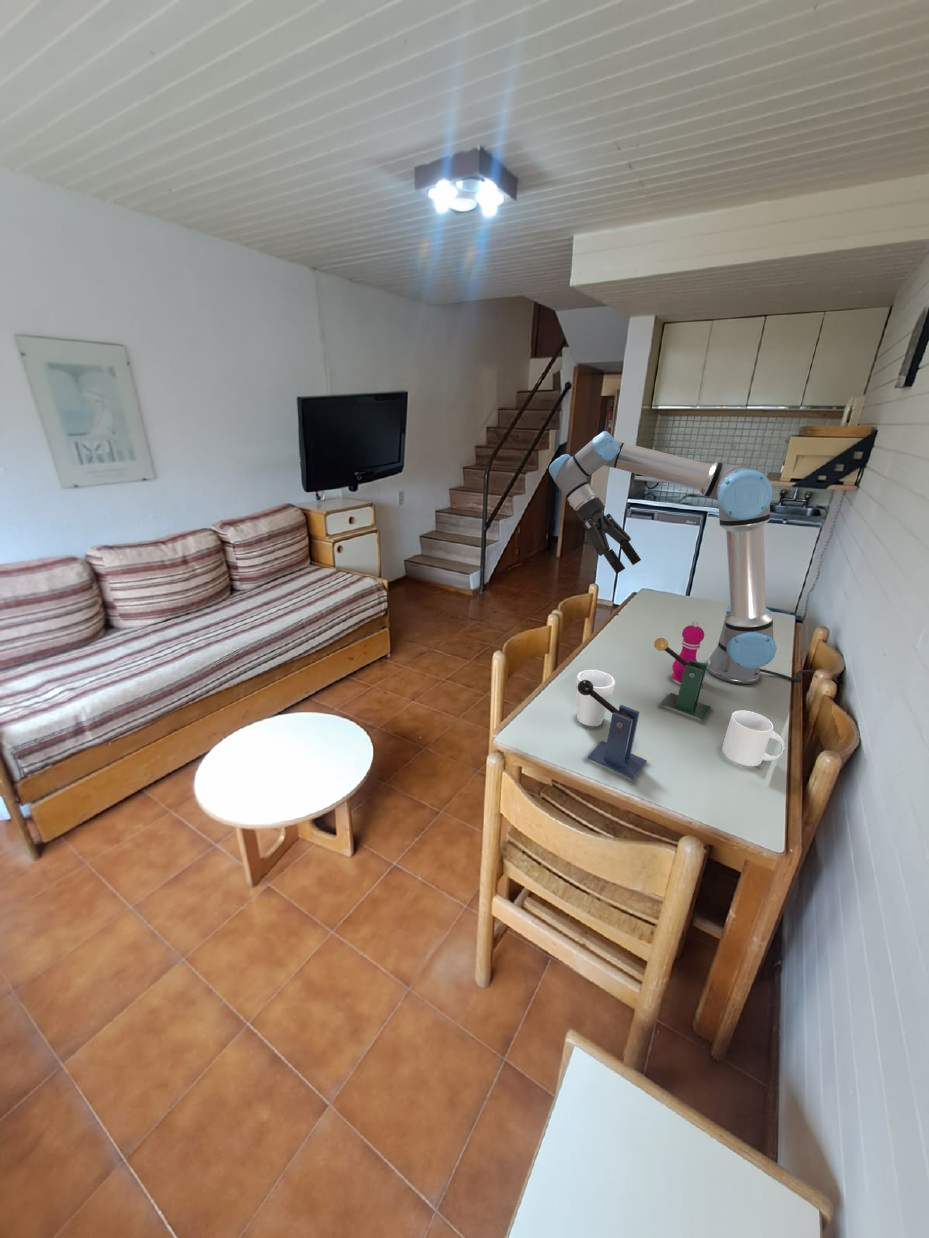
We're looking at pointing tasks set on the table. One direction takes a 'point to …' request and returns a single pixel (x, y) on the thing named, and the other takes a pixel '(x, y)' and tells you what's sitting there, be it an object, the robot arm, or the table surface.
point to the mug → (749, 738)
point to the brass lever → (671, 651)
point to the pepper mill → (688, 648)
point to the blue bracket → (620, 745)
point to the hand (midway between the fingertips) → (629, 566)
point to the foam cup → (587, 706)
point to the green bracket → (690, 692)
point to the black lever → (598, 697)
